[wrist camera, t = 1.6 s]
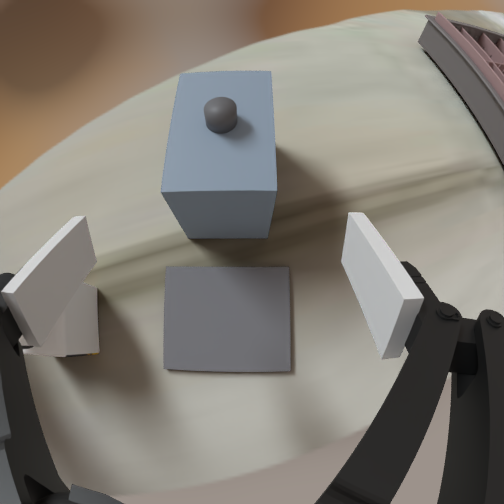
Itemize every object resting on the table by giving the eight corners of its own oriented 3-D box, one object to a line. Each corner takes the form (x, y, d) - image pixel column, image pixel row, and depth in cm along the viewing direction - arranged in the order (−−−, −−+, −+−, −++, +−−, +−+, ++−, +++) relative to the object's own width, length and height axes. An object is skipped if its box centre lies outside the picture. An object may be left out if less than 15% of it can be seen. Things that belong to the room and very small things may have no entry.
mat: (165, 368, 28) (163, 368, 27) (167, 267, 31) (166, 266, 30) (289, 370, 28) (290, 370, 28) (288, 268, 31) (289, 266, 30)
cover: (188, 238, 31) (154, 181, 19) (196, 140, 34) (177, 61, 22) (267, 238, 31) (279, 179, 19) (265, 139, 35) (272, 58, 22)
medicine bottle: (49, 351, 28) (-25, 351, 16) (47, 289, 30) (-24, 266, 18) (101, 354, 28) (31, 359, 17) (98, 286, 30) (30, 260, 18)
